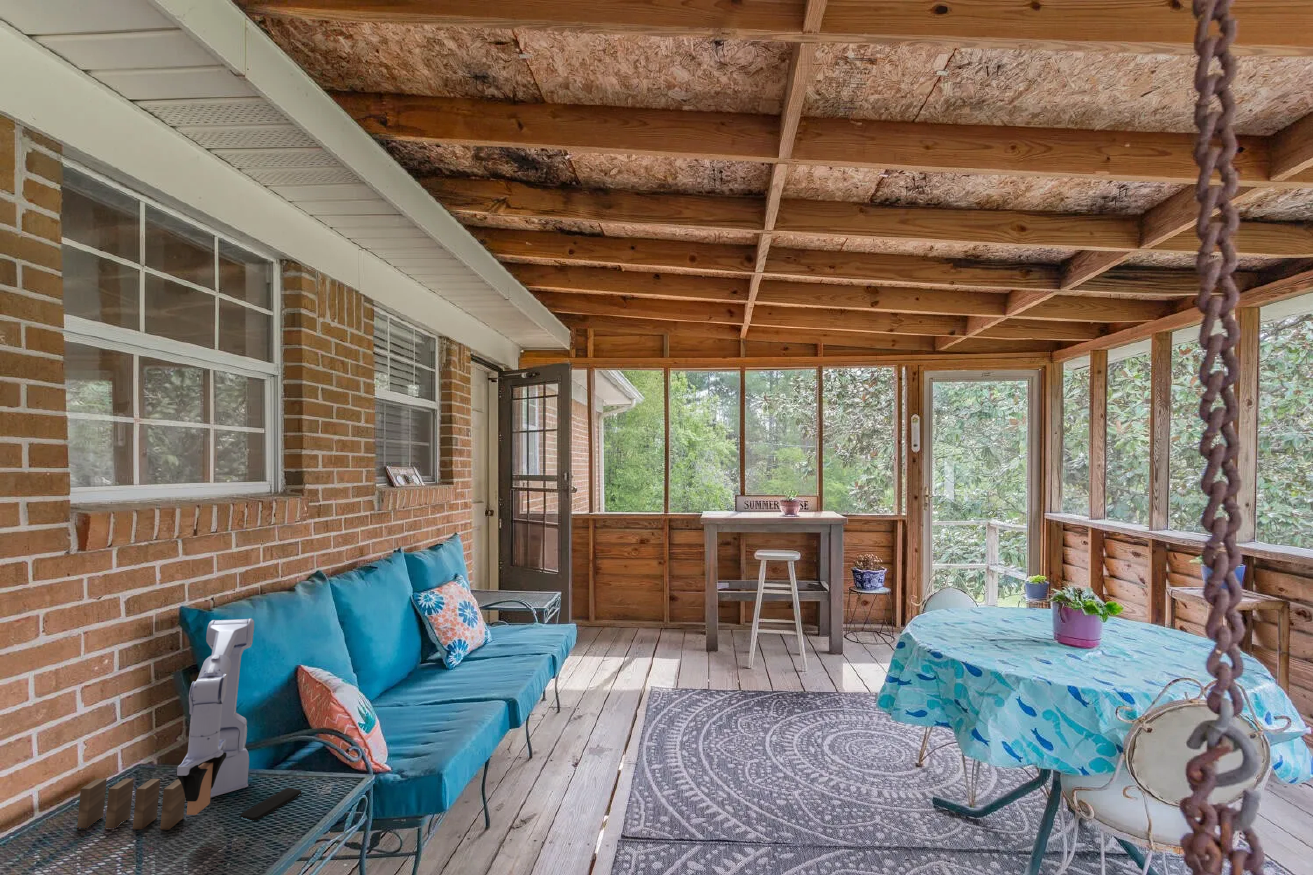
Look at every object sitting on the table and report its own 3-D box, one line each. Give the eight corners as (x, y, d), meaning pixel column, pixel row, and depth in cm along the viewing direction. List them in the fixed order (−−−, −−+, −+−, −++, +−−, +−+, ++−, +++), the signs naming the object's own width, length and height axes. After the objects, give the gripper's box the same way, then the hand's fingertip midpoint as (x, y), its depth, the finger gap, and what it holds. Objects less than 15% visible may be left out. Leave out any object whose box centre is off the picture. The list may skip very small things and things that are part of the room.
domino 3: (156, 817, 154) (160, 778, 155) (141, 829, 149) (145, 788, 150) (147, 817, 154) (151, 778, 155) (132, 829, 149) (136, 788, 150)
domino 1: (103, 817, 153) (106, 778, 154) (86, 829, 148) (90, 788, 149) (94, 817, 153) (97, 778, 154) (76, 829, 148) (80, 788, 149)
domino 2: (129, 817, 154) (133, 778, 155) (114, 829, 149) (118, 788, 150) (121, 817, 154) (124, 778, 154) (104, 829, 149) (108, 788, 149)
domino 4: (183, 817, 155) (186, 778, 155) (169, 829, 150) (172, 788, 150) (174, 817, 155) (177, 778, 155) (160, 829, 150) (163, 788, 150)
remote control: (253, 826, 154) (303, 794, 169) (254, 818, 154) (303, 787, 169) (237, 822, 156) (287, 791, 170) (237, 815, 156) (288, 784, 170)
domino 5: (209, 803, 148) (213, 762, 149) (196, 814, 143) (199, 772, 144) (200, 803, 148) (203, 762, 149) (186, 814, 143) (190, 772, 144)
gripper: (203, 745, 140) (198, 810, 139) (241, 720, 154) (236, 779, 153) (169, 745, 139) (163, 810, 138) (210, 720, 154) (205, 779, 153)
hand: (199, 794), depth 146 cm, fingers closed on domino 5, 5 cm apart
